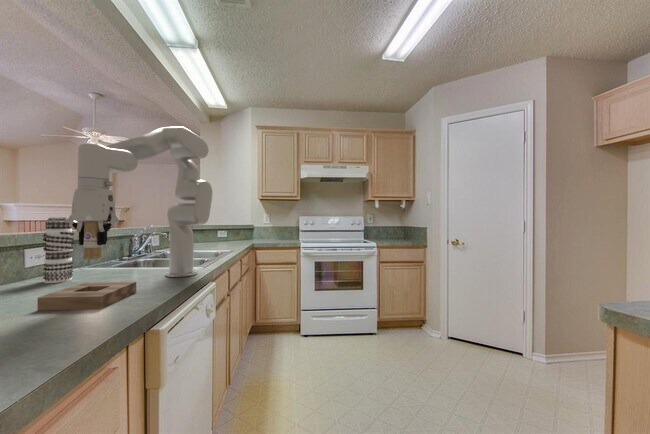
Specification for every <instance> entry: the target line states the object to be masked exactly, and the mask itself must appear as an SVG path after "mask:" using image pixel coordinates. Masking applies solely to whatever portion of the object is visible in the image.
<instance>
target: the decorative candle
mask: <svg viewBox="0 0 650 434" xmlns="http://www.w3.org/2000/svg"><path fill="white" fill-rule="evenodd" d="M68 218H69V217H60V216H59V217H57V216H56V217H52V216H51V217H48V219H47V220H46V221H44V222H45V229H44V233H43V234H42V237H43V238H42V241H43V242H44V243H43V244H42V245H43V249H42V250H43V253H45V259H44V263H43V264H42V266H43V267H44V268H43V269H42V270H44V272H43V277H42V279H43V283H44V284H54V283H64V282H69V281H72V280H73V276H74V274H73V272H74V270H73V269H72V268H73V267H74V266H73V264H74V262H73V257H72V251H74V247H73V246H72V245H73V244H75V242H73V241H74V237H73V236H75V233H74V231H73V225H71V224H69V223H68V222H67V219H68Z"/></svg>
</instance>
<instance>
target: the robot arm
mask: <svg viewBox="0 0 650 434" xmlns="http://www.w3.org/2000/svg"><path fill="white" fill-rule="evenodd" d="M168 150H169V153H170V154H171V156H172V158H173V159H174V161H175V163H176V164H177V169H178V171H177V172H178V173H177V179H176V184H175V190H174V193H175V197H176V199H177V200H179V201H181V203H174V204H171V206H169V207H168V209H167V213H166V214H167V221H168V226H169V261H168V262H169V264H168V265H169V267H168V269H169V271H166V272H165V273H164V274H165V277H170V278H182V277H183V278H184V277H191V276H194V275H197V273H198V270H196V269H194V266H195V264H194V243H195V242H194V239H195V237H194V236H195V235H194V231H193V229H192V227H191V226H202V225H205V224H207V222H208V221H209V219H210V215H211V208H212V200H213V188H212V185H211V184H210V182H208V181H207V180H204V179H199V175H200V171H199V168H198V166H197V165H196V163H195V162H194V161H193V160H201V159H204V158H206V157H207V156H208V154H209V145H208V144H207V142H206V140H204V139H203V138H202V137H200V136H199V135H198V134H196V133H195V132H193V131H192V130H190V129H188V128H186V127H185V126H182V125H181V126H178V125H177V126H176V125H175V126H164V127H163V126H162V127H159V128H156V129H153V130H152V131H149V132H147V133H144V134H142V135H139V136H136V137H135V136H134V137H133V138H128V139H125V140H122V141H119V142H115V143H112V144H108V145H106V146H104V145H103V144H99V143H98V144H97V143H88V142H87V143H81V144H79V145H78V147H77V188H75V190H74V192H73V195H72V197H73V198H72V204H71V214H70V215H69V216H68V217H67V218H68V219H67V222H68V223H69V224H71V225H72V228H74V229H75V230H76V232H78V242H79V243H78V245H79V246H84V224H85V222H84V221H86V220H85V218H86V216H87V215H90V216H91V218H92V221H94V222H98V226H99V230H100V232H98V233H97V245H102V246H103V245H107V242H108V232H109V231H110V230H111V229H112V228H113V227H114V226H115V225H117V224H119V223H120V219H119V218H118V216H116V204H115V197H114V193H113V190H111V189H110V187H113V186H114V182H113V181H111V180H110V174H113V173H115V174H118V173H119V174H120V173H121V174H126V173H131V172H133V171H134V170H136V168H138V167H137V166H138V162H139V161H145V160H149V159H153V158H155V157H157V156H158V155H161V154H163V153H164V152H166V151H168ZM182 202H191V203H182ZM193 202H194V203H193Z"/></svg>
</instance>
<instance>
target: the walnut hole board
mask: <svg viewBox="0 0 650 434" xmlns="http://www.w3.org/2000/svg"><path fill="white" fill-rule="evenodd" d="M135 293H137V281H102V282H101V281H96V282H95V281H92V282H91V281H89V282H88V281H87V282H82V283H79V284H76V285H72V286H69V287H67V288H64V289H61V290H58V291H54V292H51V293H47V294H44V295H41V296H38V297H37V305H36V306H37V309H36V310H37V311H60V310H61V311H66V310H67V311H70V310H101V309H104V308H107V307H108V306H110V305H112V304H114V303H116V302H119V301H120V300H122V299H125V298H126V297H129V296H131V295H132V294H135Z"/></svg>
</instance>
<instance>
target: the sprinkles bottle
mask: <svg viewBox="0 0 650 434" xmlns="http://www.w3.org/2000/svg"><path fill="white" fill-rule="evenodd" d="M85 220H86V221H84V222H85V224H84V245H83V256H82V258H83V259H85V260H94V259H95V260H96V259H100V258H102V257H103V255H102V250H103V249H102V247H103V245H97V233H98V232H100V230H99V226H98V222H94V221H92V218H91V216H90V215H87V216H86V218H85Z"/></svg>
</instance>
